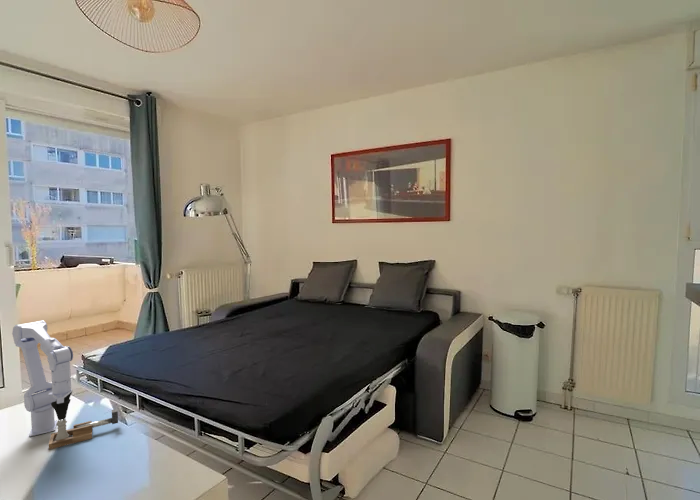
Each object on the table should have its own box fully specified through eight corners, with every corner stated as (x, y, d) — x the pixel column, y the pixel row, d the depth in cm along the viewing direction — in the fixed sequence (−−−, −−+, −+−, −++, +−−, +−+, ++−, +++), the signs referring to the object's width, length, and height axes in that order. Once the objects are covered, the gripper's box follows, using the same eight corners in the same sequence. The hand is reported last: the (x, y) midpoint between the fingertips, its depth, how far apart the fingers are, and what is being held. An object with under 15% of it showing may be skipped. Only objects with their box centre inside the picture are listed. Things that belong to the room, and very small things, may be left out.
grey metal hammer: (77, 429, 146) (76, 418, 146) (117, 419, 153) (117, 408, 153) (76, 433, 143) (76, 421, 143) (118, 422, 151) (117, 411, 150)
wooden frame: (51, 438, 144) (51, 428, 144) (92, 428, 151) (91, 418, 151) (48, 449, 136) (48, 438, 136) (91, 438, 143) (91, 427, 143)
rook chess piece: (62, 444, 139) (61, 423, 139) (51, 444, 140) (50, 423, 140) (72, 438, 144) (71, 417, 144) (62, 437, 144) (61, 417, 144)
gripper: (50, 376, 145) (52, 410, 146) (45, 388, 133) (47, 426, 134) (72, 372, 149) (74, 405, 150) (69, 384, 137) (71, 420, 138)
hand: (63, 415), depth 142 cm, fingers open, 7 cm apart
